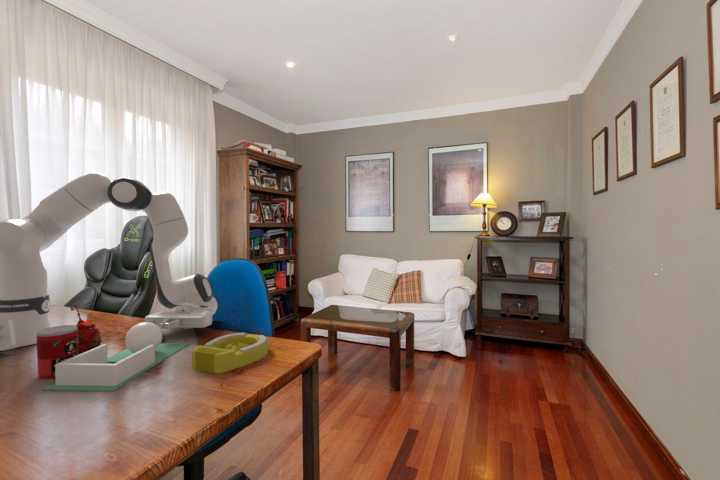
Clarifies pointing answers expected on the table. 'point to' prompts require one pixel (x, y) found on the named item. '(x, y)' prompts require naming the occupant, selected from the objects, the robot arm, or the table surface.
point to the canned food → (55, 348)
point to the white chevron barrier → (101, 367)
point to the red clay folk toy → (87, 334)
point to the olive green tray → (229, 352)
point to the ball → (143, 336)
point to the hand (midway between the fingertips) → (164, 326)
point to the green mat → (160, 354)
